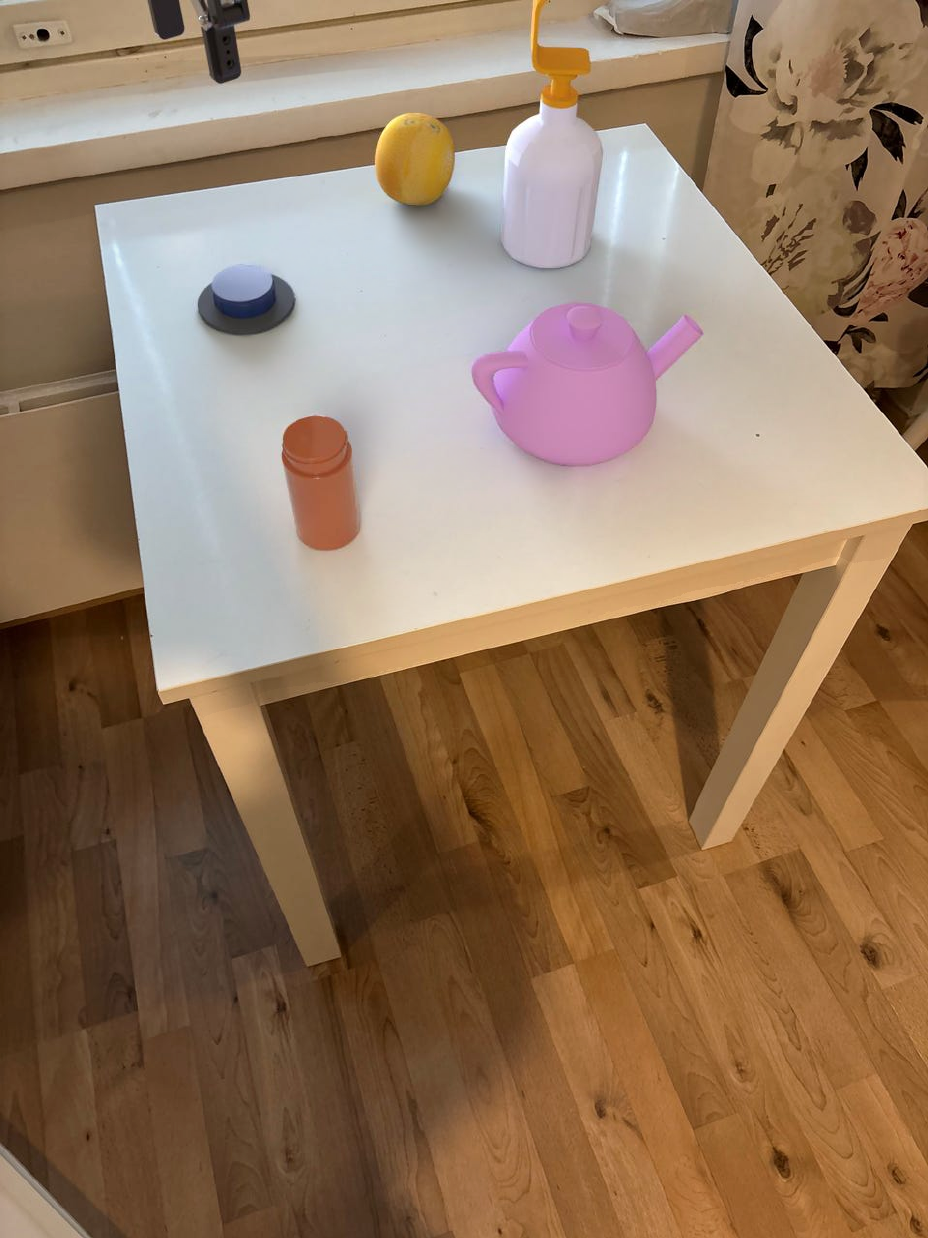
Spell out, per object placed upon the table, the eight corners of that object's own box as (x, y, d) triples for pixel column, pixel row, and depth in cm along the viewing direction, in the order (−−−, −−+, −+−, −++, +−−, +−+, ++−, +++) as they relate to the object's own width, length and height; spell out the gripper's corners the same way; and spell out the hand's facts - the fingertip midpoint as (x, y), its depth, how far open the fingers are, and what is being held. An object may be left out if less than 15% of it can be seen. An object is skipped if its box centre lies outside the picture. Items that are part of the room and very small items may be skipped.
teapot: (720, 445, 80) (753, 342, 71) (498, 500, 76) (504, 399, 67) (649, 343, 87) (672, 239, 79) (443, 389, 83) (443, 285, 75)
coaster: (198, 339, 87) (196, 334, 86) (199, 279, 92) (198, 274, 92) (296, 330, 88) (296, 326, 87) (292, 271, 93) (292, 267, 92)
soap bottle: (593, 271, 94) (633, -6, 73) (501, 269, 94) (516, -9, 73) (587, 219, 99) (624, -54, 79) (500, 217, 99) (514, -57, 79)
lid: (274, 279, 91) (271, 261, 90) (276, 316, 88) (273, 298, 87) (215, 283, 91) (211, 266, 89) (215, 321, 88) (211, 303, 86)
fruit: (453, 221, 98) (453, 145, 92) (375, 219, 98) (369, 143, 92) (455, 174, 103) (455, 99, 97) (381, 172, 103) (376, 97, 97)
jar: (299, 555, 73) (281, 466, 65) (292, 507, 75) (274, 416, 68) (364, 545, 73) (354, 456, 65) (355, 498, 76) (344, 407, 68)
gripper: (256, -202, 57) (291, 80, 70) (144, -261, 63) (195, 9, 76) (142, -179, 54) (200, 110, 67) (36, -242, 60) (109, 34, 73)
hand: (197, 56), depth 72 cm, fingers open, 8 cm apart
